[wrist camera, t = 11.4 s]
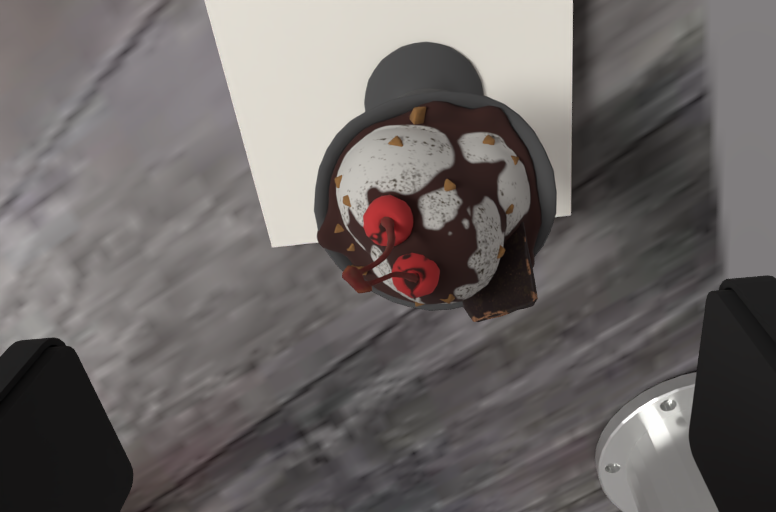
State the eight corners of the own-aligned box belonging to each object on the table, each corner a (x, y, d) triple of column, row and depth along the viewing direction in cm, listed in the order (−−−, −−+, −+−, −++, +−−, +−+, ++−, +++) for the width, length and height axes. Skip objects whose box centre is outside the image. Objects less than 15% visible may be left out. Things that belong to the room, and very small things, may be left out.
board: (568, -217, 21) (575, -221, 20) (566, 205, 29) (570, 215, 28) (173, -147, 22) (164, -148, 22) (276, 237, 31) (272, 247, 30)
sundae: (324, 37, 25) (238, 200, 12) (495, 3, 24) (605, 137, 11) (360, 188, 28) (323, 446, 15) (511, 162, 27) (610, 411, 14)
